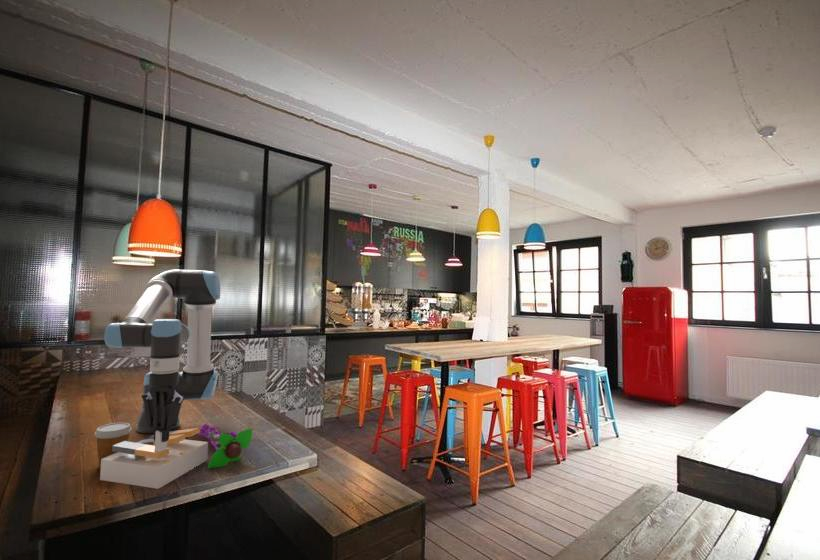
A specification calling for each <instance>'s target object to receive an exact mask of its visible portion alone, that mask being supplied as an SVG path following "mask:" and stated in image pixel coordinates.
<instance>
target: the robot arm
mask: <svg viewBox="0 0 820 560" xmlns="http://www.w3.org/2000/svg"><path fill="white" fill-rule="evenodd" d="M220 283H221V281H220V278H219V274H217V273H216V272H215V271H212V270H211V271H210V270H205V269H204V270H199V269H177V268H176V269H169V270H166V271H163V272H161V273H160V274H157V275H155V276H154V277H152V278H151V279H149V281H148V282H147V283H146V284H145V286H144V288H143V293H142V295H141V296H140V297H139V298H138V300H137V301H136V303H135V304H134V305H133V307H132V308H131V309H130V311H129V313H127V315H126V316H125V318H124V319H123V320H122V321H121V322H114V323H113V322H112V323H109V324H108V325H107V326H106V328H105V331H104V336H103V337H104V338H103V339H104V343H105V345H106V346H107V347H109V348H120V349H125V348H126V349H127V348H150V356H149V358H150V360H149V372H147V373H146V374H145V375H144V378H143V384H142V385H143V387H142V388H143V390H142V391H143V392H142V395H141V398H142V406H141V407H142V409H141V412H140V414H139V418H138V421H137V422H136V424H135V431H136V432H137V433H142V434H153V435H154V441H155V452H161V451H163V450H165V449H167V441H168V440H169V432H170V431H173V430H174V429H176V428H178V427H180V423H181V418H180V416H179V415H180V411H181V408H182V403H183V402H184V401H202V400H209V399H212V397H214V394H215V390H216V387H217V383H218V376H219V371H218V370H215V365H214V364H212V363H211V348H212V347H211V345H212V344H211V340H212V308H213V307H214V306H215V305H216V304H217V301H218V300H220V298H221V284H220ZM171 299H182V300H183V303H184V305H185V306H186V307H187V325H186V324H184V323H182V321H181V320H180V319H175V318H159V319H155V318H156V317H157V315H158V314H159V313H160V311H161V309H162V307H163V306H164V304H166V303H168V301H170V300H171ZM186 343H187V349H186V364H185V366H183V368H182V371H179V370H180V359H181V358H180V357H181V356H180V355H181V346H184V345H185V344H186Z"/></svg>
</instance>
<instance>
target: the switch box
mask: <svg viewBox="0 0 820 560" xmlns="http://www.w3.org/2000/svg"><path fill="white" fill-rule="evenodd" d="M167 448H169V454H167V455H165V456H163V457H160V458H158V459H156V458H150V457H144V456H138V455H132V454H126V453H120V452H117V453H115V454H113V455H110V456H108V457H105V458H103V459H101V468H100V473H99V475H100V476H99V481H105V482H110V483H117V484H118V483H119V484H126V485H130V486H139V487H142V488H143V487H144V488H151V489H160V488H162V487H164V486H165V485H167V484H169V483H171V482H172V481H174V480H176V479H178V478H180V477H181V476H183V475H185V474H186V473H188V472H190V471H191V470H193V469H195V468H197V467H198V466H200V465H201V463H202V464H204V463H205V462H207V461H208V449H209V441H202V440H192V439H186V438H185V440H183V441H181V442H178V443H176V444H170V445H167ZM206 460H207V461H206ZM203 462H204V463H203ZM196 466H197V467H196ZM194 467H195V468H194ZM189 470H190V471H189Z"/></svg>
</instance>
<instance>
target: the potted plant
mask: <svg viewBox="0 0 820 560" xmlns="http://www.w3.org/2000/svg"><path fill="white" fill-rule="evenodd" d="M198 435H199V436H203V437H204V438H206V441H208V440H209V441H210V443H211V444H210V445H212V446H213V448H214V453H213V454H212V456H211V458H210V461H209V462H208V467H207V469H212V468H211V467H214V468H219V467H224V466H226V465H227V464H228V463H229V462H237V461H240V460H241V457H242V456H241V454H242V453H243V452H242V451H243V450H246V449H247V448H248V447H249V446H250V444H251V442H252V436H253V429H252V428H248V429H245V430H241V431H240V432H238V434H236V433H235V432H234V431H230V432H224V433H222V432H221V431H220V430H219V431H218V429H217V428H216V427H214V426H210V425H209V424H207V423H205V424H203V425H202V427H201V428H200V433H198ZM217 440H218V441H217ZM217 445H220V447H219V446H217Z"/></svg>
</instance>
